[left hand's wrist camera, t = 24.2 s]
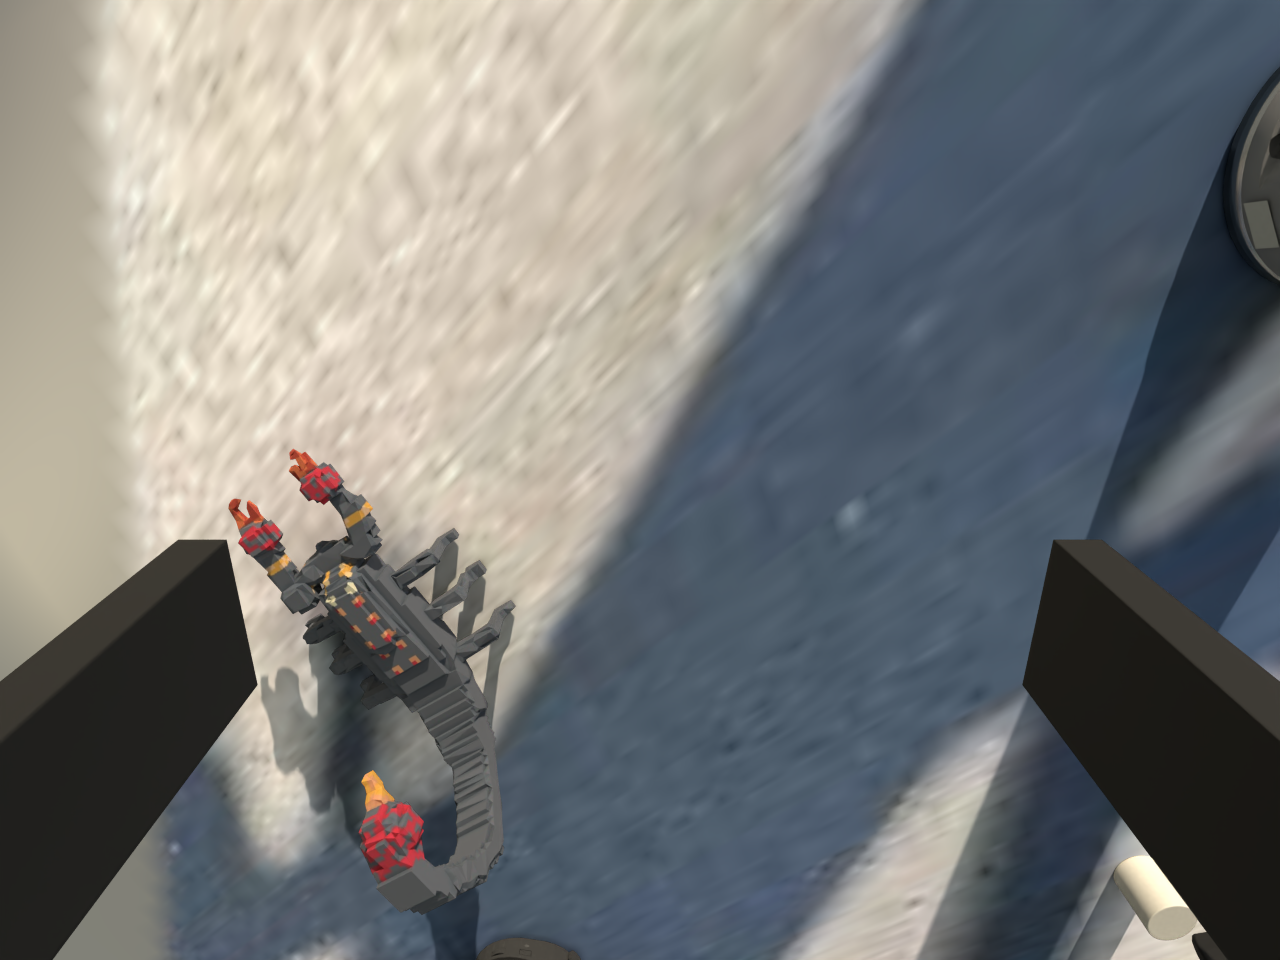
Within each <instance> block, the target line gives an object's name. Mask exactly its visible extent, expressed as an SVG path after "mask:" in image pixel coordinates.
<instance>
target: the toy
mask: <svg viewBox="0 0 1280 960" xmlns="http://www.w3.org/2000/svg"><path fill="white" fill-rule="evenodd" d="M291 459H296V461H297V463H298V464H299V466H297V465H294V466H292V467H291V468H290V470H289V472H290V473H291V474H292V475H293V476H294V477H295V478H296V479H298V480H299V481H300V482H301V487H300V491H301V493H302V494H303V495H304V496H305V497H306V499H307V500H308V501H311V500H315V501H316V502H317V503H318V502H321V503H322V504H323V505H324V504H325V503H327V502H328V501H330V502H331V503H332V504H333V506H334V507H335V508H336V509H337V511H338V512H339V513H340V515H341V517H342V519H343V522H344V524H345V527H346V529H347V533H348V536H349V537H348V536H345V537H344V538H342V539H340V540H339V541H337V540H332V541H321V542H319V543H317V545H316V550H317V551H316V553H315V554H314V555H313V556H312V557H310V558H309V559H308V560H307V561H306V563H305V565H304V566H303V568H302V570H301V571H300V572H299V571H298V570H297V569H296V568H297V567H296V566H295V565H294V563H293V562H292V561H291V560H290V559H289V557H288V556H287V555H286V554H285V553H284V550H285V547H284V546H283V545H282V544H281V543H280V542H279V541H280V540H281V538H282V536H283V533H282V532H281V531H280V530H279V528H278V527H277V526H276V525H275V524H274V523H273V522H272V521H271V520H270V521H267V520H266V519H265V518H264V517H263V516H262V515H261V514H260V512H259V510H258V508H257V506H256V505H254V504H253V503H252V502H251V501H248V502H247V510H248V513H249V515H250V518H247V517H246V516H245V515H244V514H243V513H242V512H241V511H240V510H239V509H238V507H239V504H240V502H241V500H240V499H233V500H232V501H231V502H230V504H229V508H228V509H229V510H230V512H231V513H232V515H233V517H234V518H235V520H236V522H237V526H238V529H239V532H240V534H241V537H242V538H241V539H240V540H239V542H238V544H240V545H241V546H242V547H243V549H244V550H245V552H246V554H249V555H251V556H252V557H253V558H254V559H255V560H256V561H258V562H259V563H260V564H261V565H262V566H263V567H264V568H265V569H266V570H267V571H268V574H267V576H268V577H269V578H270V579H271V580H272V581H273V583H274V584H275V585H276V586H277V587H278V588H279V589H280V591H281V592H282V595H281V600H282V601H283V602H284V603H285V605H286V606H287V607H288V608H289V610H290V611H291V612H292V613H293V614H294V613H296V612H297V611H299V612H300V613H301V615H302V614H303V613H305V612H307V611H309V610H311V609H313V608H314V607H316V606H317V604H318V603H319V601H321V602H322V603H323V604H324V606H325V607H326V608H327V610H328V611H329V612H328V615H329V616H327V617H324V616H323V615H322V614H319V615H317V616H316V617H314V618H312V619H311V620H309V621H308V622H307V623H306V625H305V626H306V627H308V630H307V631H306V632H305V634H304V635H303V639H304V640H305V641H306V643H307V644H315V643H319V642H321V641H323V640H325V639H326V638H328V637H330V636H332V635H334V634H336V633H337V632H339V631H341V630H342V631H343V633H344V634H345V638H344V640H343V642H344V643H345V644H344V645H342V646H341V647H339V648H337V649H336V650H334V652H333V653H332V656H333V657H334V661H333V663H332V664H331V666H330V667H329V669H330V670H331V671H332V672H333V673H334V674H336V675H340V674H345V673H347V672H349V671H351V670H353V669H355V668H357V667H359V666H361V665H363V664H365V665H366V666H367V667H368V668H369V669H370V670H371V671H372V672H373V673H374V675H372V676H370V677H369V678H367V679H365V680H364V681H362V683H361V685H360V686H361V688H362V689H363V690H364V691H365V693H364V695H363V697H362V699H361V702H362V703H363V704H364V705H365V706H366V708H367V709H368V710H369V709H371V708H372V707H374V706H376V705H378V704H379V703H380V704H381V703H383V702H386V701H388V700H390V699H392V698H394V697H396V696H398V697H399V698H400V699H402V700H403V702H404V703H405V704H406V706H407V707H408V708H409V709H410V711H411V712H414V711H416V710H418V713H419V714H420V716H421V718H422V720H423V722H424V723H425V725H426V727H427V728H428V730H429V733H430V734H431V735H432V736H433V737H434V738H435V741H436V745H437V747H438V748H439V750H440V752H441V753H442V755H443V757H444V760H445V761H446V762H447V764H449V765H450V766H451V767H452V769H453V777H454V782H453V786H454V790H455V803H456V806H457V809H456V811H457V821H456V826H457V847H456V851H455V854H454V855H452V856H450V860H449V863H447V864H446V865H445V864H443V865H441V866H440V865H439V866H437V867H434V866H433V865H432V864H431V863H430V862H428V861H427V860H426V859H425V858H424V853H423V847H422V837H421V835H422V833H423V831H424V830H423V829H422V825H423V822H424V821H423V820H422V819H421V818H420V817H419V815H418V814H417V813H416V812H415V811H414V809H413V808H412V807H411V806H410V805H409V804H408V802H407V801H406V802H405V803H404V804H403V803H402V802H394V800H395V799H394V798H393V797H392V796H391V795H390V794H389V793H388V792H387V791H386V790H385V789H384V785H383V782H382V781H381V779H380V778H379V777H378V776H377V774H376V773H375V772H374V771H371V772H369V773H367V774H365V776H364V778H363V780H362V784H363V785H364V787H365V790H366V801H365V806H366V809H367V812H366V815H365V818H364V821H363V823H362V826H361V828H360V831H359V834H360V836H361V838H362V839H361V845H360V848H361V850H362V852H363V854H364V856H365V858H366V860H367V862H368V865H369V867H370V869H371V872H372V874H373V876H374V878H375V879H376V881H377V883H378V886H377V890H378V891H379V892H380V893H381V894H382V895H383V896H384V897H385V898H386V899H387V900H388V901H389V902H390V903H391V904H392V905H393V906H394V907H395V908H397V909H398V910H399V911H400V912H403V911H407V910H409V909H410V910H411V911H412V912H413V913H415V912H417V911H418V912H419V913H420V914H421V915H423V914H425V913H427V912H429V911H431V910H433V909H435V908H437V907H439V906H441V905H443V904H445V903H447V902H449V901H451V900H453V899H455V898H456V896H458V895H460V894H462V893H464V892H466V891H468V890H470V889H472V888H474V887H476V886H478V885H480V884H482V883H484V882H486V881H487V877H488V873H489V870H490V869H492V868H493V866H494V864H497V863H498V859H499V856H501V855H503V850H504V846H503V845H502V844H503V841H504V839H503V828H502V802H501V797H500V790H499V784H498V782H499V781H498V775H497V764H496V755H495V751H494V744H495V740H496V738H495V737H494V732H493V731H492V729H491V728H490V727H489V726H490V723H489V722H488V717H487V715H486V710H487V707H488V704H487V701H486V699H485V697H484V695H483V694H482V692H481V690H480V688H479V687H478V685H477V683H476V681H475V679H474V676H473V672H472V670H471V668H470V667H469V665H468V663H467V661H466V659H467V658H469V657H471V656H472V655H474V654H475V653H477V652H479V651H480V650H482V649H483V648H485V647H487V646H488V645H490V644H491V643H493V642H494V641H496V640H497V639H498V638H499V635H500V634H499V633H500V629H501V626H502V623H503V619H504V618H505V617H506V616H507V615H508V614H509V613H510V612H511V611H512V610H513V609H514V607H515V605H514V603H513V602H512V601H511V600H510V601H509V602H507V603H505V604H503V605H502V606H500V607H498V608H496V609H495V610H494V612H493V614H492V616H491V618H490V620H489V622H488V624H486V625H485V626H483V627H482V628H480V629H479V630H477V631H476V632H474V633H473V634H471V635H469V636H467V637H466V638H464V639H462V640H460V641H458V642H457V641H456V636H455V635H454V634H453V632H452V631H451V630H450V629H449V627H448V626H447V625H446V623H445V622H444V621H442V620H440V619H439V616H440V615H442V614H444V613H445V612H447V611H448V610H450V609H451V608H453V607H454V606H456V605H458V604H459V603H461V602H462V601H464V600H465V599H466V598H467V595H468V589H469V588H470V587H471V585H472V584H473V583H474V582H475V580H476V579H477V578H478V577H480V576H482V575H483V574H485V573H486V570H487V569H486V568H485V567H484V565H483V564H482V563H481V562H480V560H479V561H477V562H475V563H474V564H472V565H470V566H468V567H467V568H466V571H465V573H462V574H461V575H460V577H459V580H458V582H457V585H455V586H454V587H453V588H452V589H450V590H449V591H447V592H446V593H444V594H442V595H441V596H439V597H438V598H436V599H435V600H434V601H433V602H432V603H431V604H429V603H428V602H427V601H426V599H425V598H424V597H423V596H422V595H421V593H420V592H419V591H418V590H417V589H416V587H413V588H411V589H409V588H408V587H407V585H409V584H410V583H412V582H414V581H415V580H417V579H418V578H420V577H421V576H423V575H424V574H426V573H427V572H428V571H429V570H431V569H432V568H433V567H434V566H436V565H437V564H438V563H439V562H440V560H439V559H440V557H441V555H442V553H443V551H444V550H445V548H446V546H447V545H448V544H449V543H451V542H452V541H454V540H455V539H457V538H458V536H459V534H458V532H457V531H456V530H455V529H454V528H453V529H452V530H450V531H448V532H447V533H445V534H443V535H442V536H440V537H439V538H437V539H436V541H435V542H434V544H433V545H432V547H431V548H430V549H426V550H425V551H424V552H422V553H421V554H419V555H418V556H416V557H415V558H413V559H412V560H410V561H409V562H408V563H407V564H405V565H404V566H403V567H401V568H400V569H399V570H397V571H396V572H395V571H394V570H393V569H392V567H391V566H389V565H386V564H385V563H384V562H383V561H382V559H381V558H380V557H379V556H378V554H375V553H376V551H377V550H378V549H379V548H380V547H381V546H382V545H381V543H380V542H381V541H382V539H381V538H380V537H378V536H377V534H378V533H379V531H380V529H379V528H378V527H377V525H376V524H375V522H376V520H375V519H374V518H373V517H372V516H371V514H370V511H371V510H372V509H373V508H372V507H371V506H370V504H369V503H368V502H367V501H366V500H365V498H364V497H363V496H362V495H359V496H356V495H353V494H352V493H350V492H349V491H347V490H346V489H345V488H344V487H343V485H342V483H343V482H344V481H343V479H342V478H341V477H340V475H339V474H338V473H337V472H336V470H335V469H334V468H333V466H332V465H331V464H329V465H327V464H325V463H324V462H323V463H322V464H321V465H319V466H318V465H317V464H316V463H315V462H314V461H313V460H312V459H311V458H310V457H309V455H308V454H307V453H306V452H304V453H303V454H301V453H299V452H298V451H296V450H294V449H293V450H292V451H291V452H290V460H291ZM370 555H371V556H370ZM368 556H369V557H368ZM366 557H368V558H367V559H364V558H366ZM320 583H322V584H324V588H323V589H322V588H321V585H320ZM382 682H384V683H382Z"/></svg>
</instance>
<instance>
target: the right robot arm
mask: <svg viewBox="0 0 1280 960" xmlns="http://www.w3.org/2000/svg"><path fill="white" fill-rule="evenodd" d="M1192 942H1193V945H1194V948H1195V950H1196V953H1197V955H1198V957H1199V959H1200V960H1227V958H1226V957H1225V956H1224V954H1223V953H1222V952H1221V950H1220V949H1219V948H1218V946H1217V945H1216V944H1215V942H1214V941H1213V940H1212V938H1211V937H1210V936H1209V934H1208V933H1207V932H1204V933H1198V934H1193V935H1192Z"/></svg>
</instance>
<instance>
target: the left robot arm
mask: <svg viewBox="0 0 1280 960" xmlns="http://www.w3.org/2000/svg"><path fill="white" fill-rule="evenodd" d="M1223 201H1224V211H1225V217H1226V222H1227V226H1228V229H1229V232H1230V235H1231V237H1232V240H1233V242H1234V244H1235V246H1236V248H1237V249H1238V251H1239V252H1240V254H1241V256H1242V257H1243V258H1244V259H1245V260H1246V262H1247V263H1248V264H1249V265H1250V266H1251V267H1252V268H1253V269H1254V270H1255V271H1256V272H1258V273H1259V274H1261V275H1262V276H1263V277H1265V278H1266V279H1268V280H1270V281H1272V282H1274V283H1276V284H1278V285H1280V67H1279V68H1278V69H1277V70H1276V72H1275V73H1274V74H1273V75H1272V76H1271V77H1270V78H1269V80H1268V81H1267V82H1266V83H1265V85H1264V86H1263V87H1262V89H1261V90H1260V91H1259V93H1258V94H1257V96H1256V97H1255V99H1254V100H1253V102H1252V103H1251V105H1250V107H1249V109H1248V110H1247V112H1246V114H1245V116H1244V117H1243V120H1242V122H1241V124H1240V126H1239V128H1238V130H1237V133H1236V135H1235V138H1234V141H1233V143H1232V146H1231V149H1230V153H1229V156H1228V160H1227V165H1226V170H1225V177H1224V187H1223ZM256 686H257V680H256V675H255V671H254V666H253V661H252V656H251V652H250V647H249V642H248V638H247V633H246V628H245V624H244V619H243V614H242V610H241V605H240V600H239V596H238V591H237V586H236V582H235V577H234V572H233V568H232V563H231V558H230V554H229V549H228V544H227V540H177V541H176V542H175V543H174V544H172V545H171V546H170V547H169V548H167V549H166V550H165V551H164V552H162V553H161V554H160V555H159V556H157V557H156V558H155V559H153V560H152V561H151V562H150V563H148V564H147V565H146V566H145V567H143V568H142V569H141V570H140V571H138V572H137V573H136V574H135V575H133V576H132V577H131V578H130V579H128V580H127V581H126V582H125V583H123V584H122V585H121V586H120V587H118V588H117V589H116V590H115V591H113V592H112V593H111V594H110V595H108V596H107V597H106V598H105V599H103V600H102V601H101V602H100V603H98V604H97V605H96V606H95V607H93V608H92V609H91V610H89V611H88V612H87V613H86V614H84V615H83V616H82V617H81V618H79V619H78V620H77V621H76V622H74V623H73V624H72V625H71V626H69V627H68V628H67V629H66V630H64V631H63V632H62V633H61V634H59V635H58V636H57V637H56V638H54V639H53V640H52V641H51V642H49V643H48V644H47V645H46V646H44V647H43V648H42V649H41V650H39V651H38V652H37V653H36V654H34V655H33V656H32V657H31V658H29V659H28V660H27V661H25V662H24V663H23V664H22V665H20V666H19V667H18V668H17V669H15V670H14V671H13V672H12V673H10V674H9V675H8V676H7V677H5V678H4V679H3V680H2V681H0V960H53V958H54V957H55V956H56V954H57V953H58V952H59V950H60V949H61V948H62V946H63V945H64V944H65V942H66V941H67V940H68V938H69V937H70V936H71V934H72V933H73V932H74V930H75V929H76V928H77V926H78V925H79V924H80V922H81V921H82V920H83V918H84V917H85V915H86V914H87V913H88V911H89V910H90V909H91V907H92V906H93V905H94V903H95V902H96V901H97V899H98V898H99V897H100V895H101V894H102V893H103V891H104V890H105V889H106V887H107V886H108V885H109V883H110V882H111V881H112V879H113V878H114V877H115V875H116V874H117V873H118V871H119V870H120V869H121V867H122V866H123V865H124V863H125V862H126V860H127V859H128V858H129V857H130V855H131V854H132V852H133V851H134V850H135V848H136V847H137V846H138V844H139V843H140V842H141V840H142V839H143V838H144V836H145V835H146V834H147V832H148V831H149V830H150V828H151V827H152V826H153V824H154V823H155V822H156V820H157V819H158V818H159V816H160V815H161V814H162V812H163V811H164V810H165V808H166V807H167V806H168V804H169V803H170V802H171V800H172V799H173V798H174V796H175V795H176V793H177V792H178V791H179V789H180V788H181V787H182V785H183V784H184V783H185V781H186V780H187V779H188V777H189V776H190V775H191V773H192V772H193V771H194V769H195V768H196V767H197V765H198V764H199V763H200V761H201V760H202V759H203V757H204V756H205V755H206V753H207V752H208V751H209V749H210V748H211V747H212V745H213V744H214V743H215V741H216V740H217V739H218V737H219V736H220V734H221V733H222V732H223V730H224V729H225V728H226V726H227V725H228V724H229V722H230V721H231V720H232V718H233V717H234V716H235V714H236V713H237V712H238V710H239V709H240V708H241V706H242V705H243V704H244V702H245V701H246V700H247V698H248V697H249V696H250V694H251V693H252V692H253V690H254V689H255V688H256ZM1023 686H1024V688H1025V689H1026V690H1027V692H1028V693H1029V694H1030V696H1031V697H1032V698H1033V700H1034V701H1035V702H1036V704H1037V705H1038V706H1039V708H1040V709H1041V710H1042V712H1043V713H1044V714H1045V716H1046V717H1047V718H1048V720H1049V721H1050V722H1051V724H1052V725H1053V726H1054V728H1055V729H1056V730H1057V732H1058V733H1059V734H1060V736H1061V737H1062V739H1063V740H1064V741H1065V743H1066V744H1067V745H1068V747H1069V748H1070V749H1071V751H1072V752H1073V753H1074V755H1075V756H1076V757H1077V759H1078V760H1079V761H1080V763H1081V764H1082V765H1083V767H1084V768H1085V769H1086V771H1087V772H1088V773H1089V775H1090V776H1091V777H1092V779H1093V780H1094V781H1095V783H1096V784H1097V785H1098V787H1099V788H1100V789H1101V791H1102V792H1103V793H1104V795H1105V796H1106V798H1107V799H1108V800H1109V802H1110V803H1111V804H1112V806H1113V807H1114V808H1115V810H1116V811H1117V812H1118V814H1119V815H1120V816H1121V818H1122V819H1123V820H1124V822H1125V823H1126V824H1127V826H1128V827H1129V828H1130V830H1131V831H1132V832H1133V834H1134V835H1135V836H1136V838H1137V839H1138V840H1139V842H1140V843H1141V844H1142V846H1143V847H1144V848H1145V850H1146V851H1147V852H1148V854H1149V855H1150V857H1151V858H1152V859H1153V861H1154V862H1155V863H1156V865H1157V866H1158V867H1159V869H1160V870H1161V871H1162V873H1163V874H1164V875H1165V877H1166V878H1167V879H1168V881H1169V882H1170V883H1171V885H1172V886H1173V887H1174V889H1175V890H1176V891H1177V893H1178V894H1179V895H1180V897H1181V898H1182V899H1183V901H1184V902H1185V903H1186V905H1187V906H1188V907H1189V909H1190V910H1191V911H1192V913H1193V914H1194V916H1195V917H1196V918H1197V920H1198V921H1199V922H1200V924H1201V925H1202V926H1203V928H1204V929H1205V930H1206V932H1207V933H1208V934H1209V936H1210V937H1211V938H1212V940H1213V941H1214V942H1215V944H1216V945H1217V946H1218V948H1219V949H1220V950H1221V952H1222V953H1223V954H1224V956H1225V957H1226V958H1227V960H1280V681H1278V680H1277V679H1276V678H1275V677H1273V676H1272V675H1271V674H1270V673H1268V672H1267V671H1266V670H1265V669H1263V668H1262V667H1261V666H1260V665H1258V664H1257V663H1256V662H1255V661H1253V660H1252V659H1251V658H1250V657H1248V656H1247V655H1246V654H1245V653H1243V652H1242V651H1241V650H1239V649H1238V648H1237V647H1236V646H1234V645H1233V644H1232V643H1231V642H1229V641H1228V640H1227V639H1226V638H1224V637H1223V636H1222V635H1221V634H1219V633H1218V632H1217V631H1216V630H1214V629H1213V628H1212V627H1211V626H1209V625H1208V624H1207V623H1206V622H1204V621H1203V620H1202V619H1201V618H1199V617H1198V616H1197V615H1196V614H1194V613H1193V612H1192V611H1191V610H1189V609H1188V608H1187V607H1186V606H1184V605H1183V604H1182V603H1180V602H1179V601H1178V600H1177V599H1175V598H1174V597H1173V596H1172V595H1170V594H1169V593H1168V592H1167V591H1165V590H1164V589H1163V588H1162V587H1160V586H1159V585H1158V584H1157V583H1155V582H1154V581H1153V580H1152V579H1150V578H1149V577H1148V576H1147V575H1145V574H1144V573H1143V572H1142V571H1140V570H1139V569H1138V568H1137V567H1135V566H1134V565H1133V564H1132V563H1130V562H1129V561H1128V560H1127V559H1125V558H1124V557H1123V556H1121V555H1120V554H1119V553H1118V552H1116V551H1115V550H1114V549H1113V548H1111V547H1110V546H1109V545H1108V544H1106V543H1105V542H1104V541H1103V540H1053V544H1052V549H1051V554H1050V558H1049V563H1048V568H1047V572H1046V577H1045V582H1044V586H1043V591H1042V596H1041V600H1040V605H1039V610H1038V614H1037V619H1036V624H1035V628H1034V633H1033V638H1032V642H1031V647H1030V652H1029V656H1028V661H1027V666H1026V671H1025V675H1024V680H1023Z"/></svg>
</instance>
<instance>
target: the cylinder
mask: <svg viewBox="0 0 1280 960" xmlns="http://www.w3.org/2000/svg"><path fill="white" fill-rule="evenodd" d="M1114 881H1115V883H1116V884H1117V886H1118V887H1119V889H1120V890H1121V892H1122V893H1123V895H1124V896H1125V898H1126V899H1127V901H1128V902H1129V904H1130V905H1131V907H1132V908H1133V910H1134V911H1135V913H1136V914H1137V916H1138V917H1139V919H1140V920H1141V922H1142V923H1143V925H1144V926H1145V928H1146V929H1147V931H1148V932H1149V934H1150V935H1151V936H1153V937H1154V938H1156V939H1159V940H1174V939H1178V938H1180V937H1183V936H1185V935H1186V934H1188V933H1189V932H1190V931H1191V930H1192V929H1193V928H1194V927H1195V925H1196V922H1197V918H1196V917H1195V916H1194V914H1193V913H1192V911H1191V910H1190V909H1189V907H1188V906H1187V905H1186V903H1185V902H1184V901H1183V899H1182V898H1181V897H1180V895H1179V894H1178V893H1177V891H1176V890H1175V889H1174V887H1173V886H1172V885H1171V883H1170V882H1169V881H1168V879H1167V878H1166V877H1165V875H1164V874H1163V873H1162V871H1161V870H1160V869H1159V867H1158V866H1157V865H1156V863H1155V862H1154V861H1153V859H1152V858H1151V857H1148V856H1135V857H1131V858H1129V859H1126V860H1125V861H1123V862H1122V863H1120V864H1119V865H1118V867H1117V868H1116V869H1115V872H1114Z"/></svg>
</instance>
